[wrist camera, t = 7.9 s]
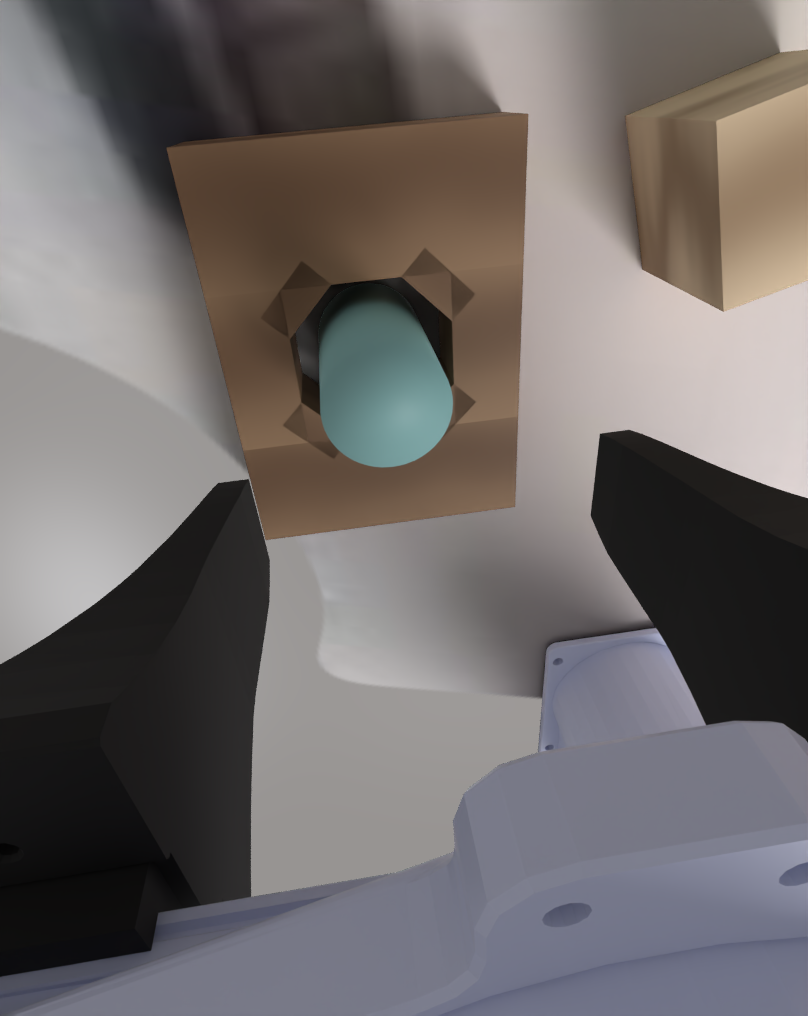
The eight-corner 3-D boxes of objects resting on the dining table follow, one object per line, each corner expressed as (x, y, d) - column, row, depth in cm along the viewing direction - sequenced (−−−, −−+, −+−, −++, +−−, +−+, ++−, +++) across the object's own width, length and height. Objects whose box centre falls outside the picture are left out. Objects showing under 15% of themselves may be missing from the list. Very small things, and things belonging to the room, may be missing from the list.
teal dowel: (426, 372, 22) (460, 453, 17) (331, 392, 22) (337, 478, 17) (410, 273, 20) (443, 330, 15) (307, 294, 20) (305, 360, 15)
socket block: (497, 472, 24) (514, 506, 22) (269, 501, 24) (265, 539, 22) (503, 112, 17) (528, 114, 15) (183, 141, 17) (166, 147, 15)
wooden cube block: (777, 216, 20) (895, 247, 16) (641, 269, 21) (723, 311, 16) (779, 52, 18) (921, 38, 13) (624, 116, 18) (716, 120, 14)
